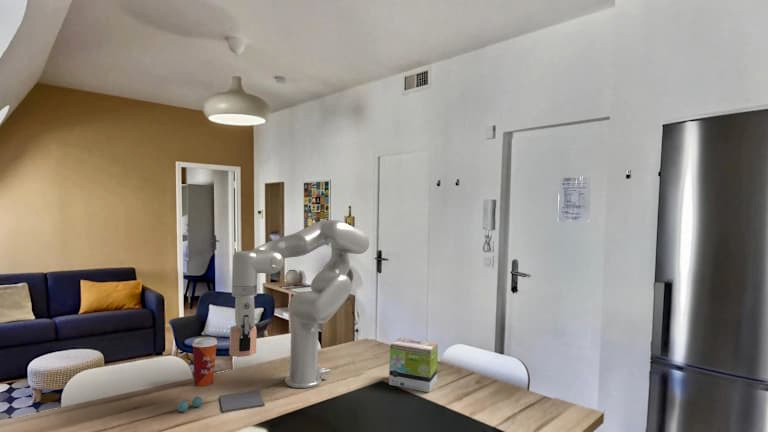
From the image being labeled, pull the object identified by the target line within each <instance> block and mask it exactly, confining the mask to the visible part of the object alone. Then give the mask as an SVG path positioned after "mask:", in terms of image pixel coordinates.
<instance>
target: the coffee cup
mask: <svg viewBox="0 0 768 432" xmlns="http://www.w3.org/2000/svg"><path fill="white" fill-rule="evenodd" d="M217 345H218V340H217V338H216V337H211V336H205V337H197V338H195V339H194V340H193V343H192V344H191V346H192V351H193V353H192V356H193V357H192V360H193V380H194V381H193V382H194V385H195V387H207V386H210V385H211V384H213V383H214V378H215V377H214V376H215V367H216V365H215V364H216V354H217V353H216V352H217Z"/></svg>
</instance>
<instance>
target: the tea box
mask: <svg viewBox="0 0 768 432" xmlns="http://www.w3.org/2000/svg"><path fill="white" fill-rule="evenodd" d="M389 345H390V346H389V347H390V348H389V373H388V375H389V376H388V379H389V380H388V381H389V383H388V384H389V386H397V387H400V388H406V389H411V390H416V391H420V392H425V393H430V392H431V391H432V389H434V387H435V386H436V385H437V383H438V362H439V361H438V359H439V358H438V356H439V354H438V353H439V343H438V342H433V341H424V340H421V339H420V340H418V339H412V338H405V337H399V338H397V339H396V340H395V341H393V342H392V343H390V344H389ZM434 385H435V386H434Z"/></svg>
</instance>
